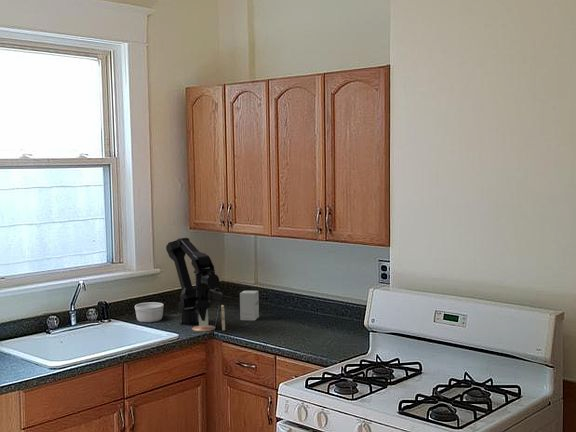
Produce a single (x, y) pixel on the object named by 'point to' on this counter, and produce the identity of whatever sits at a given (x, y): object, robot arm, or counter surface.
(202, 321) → the sage block
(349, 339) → the counter surface
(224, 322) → the divider board
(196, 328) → the disc
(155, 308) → the ramekin
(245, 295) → the supplement box
